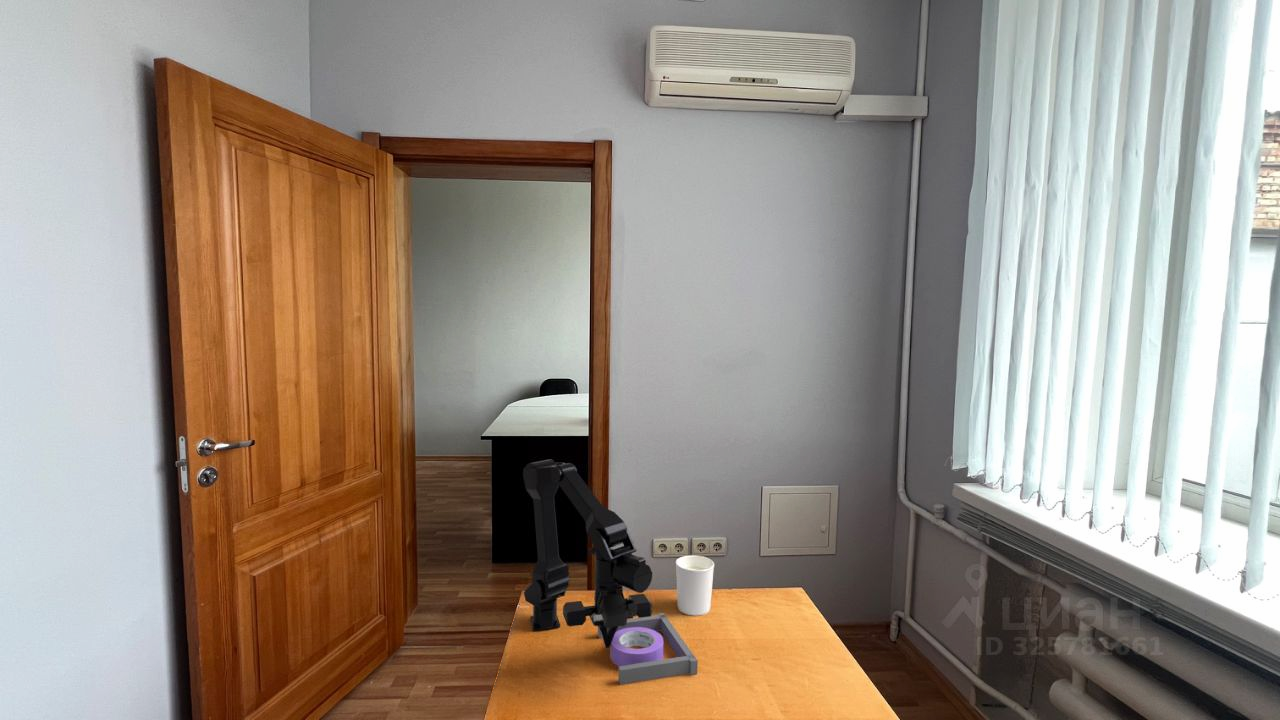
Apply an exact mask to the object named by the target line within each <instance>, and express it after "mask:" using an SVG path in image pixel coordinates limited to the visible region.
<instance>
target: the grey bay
mask: <svg viewBox="0 0 1280 720" xmlns="http://www.w3.org/2000/svg"><path fill="white" fill-rule="evenodd" d="M631 627H643V628H648V629H652V630H654V631H656V632H659V631H660V632H661V634H662V635H663V636H664V638H665V639H666V641H667V642H668V643H669V645H670V646H671V649H673V651H674V653H675V654H676V655H677V656H675V657H671V658H663V659H662V660H657V661H650V662H644V663H638V664H631V665H625V666H618V673H617V674H618V676H617V677H618V679H617V680H618V682H619V685H620V686H621V685H626V684H633V683H637V682H638V683H639V682H644V681H645V682H646V681H650V680H651V681H652V680H657V679H662V678H670V677H675V676H682V675H687V674H689V675H690V676H696V675H698V664H699V663H698V661H699V660H698V659H697V657H696V656H695V655H694V653H693V652H692V650H691V649H690V648H689V646H688V645H687V644H686V642H685V641H684V639H683V638H682V637H681V635H680V634H679V632H678V631H677V629H676V628H675V627H674V626H673V624H672V623H671V621H670V620H669V619H668V617H667V615H666V614H665V613H664V612H663V613H662V612H661V613H657V615H652V616H650V617H642V618H639V617H635V618H634V617H633V618H631V619H627V624H626V625H625V626H618V628H617V630H616V632H617V631H619V630H622V629H625V628H631ZM616 632H615V633H616ZM597 637H598V639H600V640H601V639H602V636H601V633H600V629H599V627H598V626H597ZM602 640H603V639H602Z"/></svg>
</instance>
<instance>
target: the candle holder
mask: <svg viewBox="0 0 1280 720" xmlns="http://www.w3.org/2000/svg"><path fill="white" fill-rule="evenodd" d="M675 567H676V569H675V571H676V572H675V573H676V594H677V595H676V596H677V597H676V599H677V609H678V610H679V611H680V612H681V613H682V614H685V615H687V616H703V615H706V614H708V613H709V612H710V611H711V604H712V595H713V594H712V593H713V592H712V591H713V582H714V581H713V580H714V579H713V578H714V569H715V562H714V561H713V560H712V559H710V558H708V557H706V556H701V555H685V556H681V557H678V558H677V559H676V560H675Z"/></svg>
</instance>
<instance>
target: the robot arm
mask: <svg viewBox="0 0 1280 720" xmlns="http://www.w3.org/2000/svg"><path fill="white" fill-rule="evenodd" d="M522 476H523V483H524V487H525V490H526V491H527V493H528V494H529V496H530V497H531V498H532V500H533V501H532V502H533V513H534V514H533V515H534V526H535V527H534V528H535V538H536V551H537V552H536V553H537V561H536V563H535V566H534V568H533V570H532V572H531V573H532V574H531V575H532V576H531V584H530V585H529V586H528V587H527V588H526V589H525V590H524V591H523V595H524V601H525V602H527V603H529V604H531V605H532V615H531V616H530V617H529V620H530V624H531V628H532V630H533V631H543V630H549V629H550V630H551V629H558V628H561V622H560V620H559V617H558V598H562V597H565V594H566V591H567V588H569V584H570V581H571V579H570V575H569V574H570V573H569V569H570V567H569V565H568V564H567V563H564V562H563V561H562V559H561V558H560V554H559V543H558V529H557V519H556V518H557V516H556V509H555V508H556V507H555V506H556V505H555V495H556V493H557V491H558V490H559V489H558V488H559V487H560V488H561V490H562V491H563V493H564V494H565V495H566V496H567V498H568V500H569V501H570V502H571V504H572V505H573V506H574V507H575V510H577V512H578V513H579V514H580V516H581V517H582V518H583V521H584V522H585V531H586V534H587V536H588V538H589V540H590V541H591V544H592V545H593V547H591V548H590V549H589V550H588V553H589V554H590V555H593V556H595V560H594V561H595V567H594V569H595V571H594V576H595V577H594V596H593V600H594V605H587V606H584V604H583V602H582V600H576V601H569V602H565V603H564V604H563V606H562V615H563V618H564V621H565V623H566V626H567V627H577V626H578V627H579V626H583V625H584V624H585V623H586V622H587V617H589V618H590V620H591V621H590V622H591V623H592V626H594V627H597V628H598V627H599V629H600V633H601V636H602V642H603V645H604V647H605V649H610V645H611V642H612V640H613V637H614V635H615V632H616V630H617V628H618V626H625V625H626V624H627V619H634V617H636V616H637V618H642V617H650V616H653V604H652V602H651V601H650V599H649V598H648V596H646V594H645V593H644V592H645V591H647V589H648V588H650V586H651V582H652V579H653V571H652V568H651V567H650V565H648V564H647V561H646V558H645V557H642V556H638V555H634V553H636V552H637V547H636V546H635V542H634V540H633V538H632V536H631V533H630V532H629V530H628V527H627V526H628V525H626V523H625V521H624V520H623V519H622V518H621V517H620V516H619V515H618V514H617V513H616V512H615V511H613V510H610V509H608V508H607V507H605V506H604V505H603V504H602V503H601V502H600V501H599V499H598V498H597V496H596V495H595V494H594V492H593V491H592V490H591V488H589V486H588V485H587V483H586V482H585V480H583V478H582V476H580V474H579V473H578V470H577V467H576V466H575V465H574V464H573V463H570V462H567V463H565V462H555V460H553V459H544V460H540V461H534V462H529V463H527V464H526V465H525V467H524V468H523V470H522ZM622 544H623V545H622ZM620 545H622V546H620ZM616 546H618V547H617V548H615V549H614V548H613V547H616ZM619 546H620V547H619ZM623 587H624V588H627V589H629V590H632V591H634V592H636V593H637V594H628V596H627V598H625V596H624V590H623Z"/></svg>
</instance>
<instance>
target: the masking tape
mask: <svg viewBox="0 0 1280 720" xmlns="http://www.w3.org/2000/svg"><path fill="white" fill-rule="evenodd" d="M631 647H642V648H631ZM609 649H610V651H609V653H610V654H609V657H610V659H611V661H612V663H613V664H614V665H616V666H618V667H619V666H625V665H631V664H638V663H644V662H650V661H657V660H663V659H664V637H663V636H662V635H661V633H660V632H659V631H654V630H652V629H648V628H643V627H631V628H625V629H622V630H619V631H617V632H616V633H615V635H614V637H613V640H612V642H611V645H610V648H609Z"/></svg>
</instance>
